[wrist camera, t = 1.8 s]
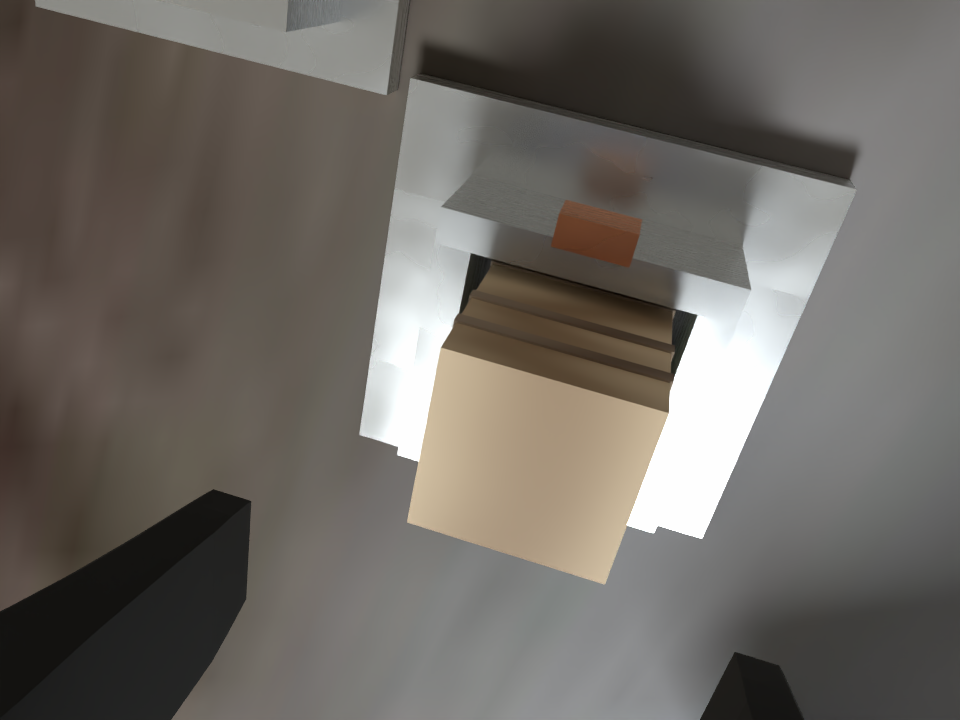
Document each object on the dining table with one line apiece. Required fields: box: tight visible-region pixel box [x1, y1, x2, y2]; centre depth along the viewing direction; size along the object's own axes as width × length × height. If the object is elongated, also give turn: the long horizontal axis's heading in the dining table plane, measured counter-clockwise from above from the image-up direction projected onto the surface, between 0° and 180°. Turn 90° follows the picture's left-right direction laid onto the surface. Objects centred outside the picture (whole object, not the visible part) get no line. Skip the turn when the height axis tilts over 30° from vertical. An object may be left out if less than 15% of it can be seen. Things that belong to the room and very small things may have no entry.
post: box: [407, 259, 676, 584], centre depth 17 cm, size 4×4×7 cm
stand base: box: [360, 73, 857, 539], centre depth 19 cm, size 10×10×4 cm
